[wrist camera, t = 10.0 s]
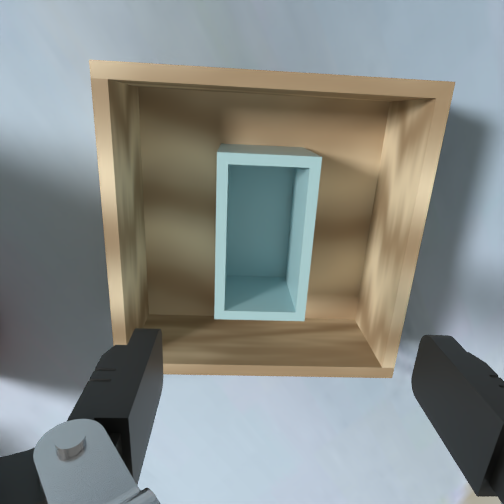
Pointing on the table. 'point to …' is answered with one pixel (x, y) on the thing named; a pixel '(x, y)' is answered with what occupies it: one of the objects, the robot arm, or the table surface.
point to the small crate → (264, 231)
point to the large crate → (204, 209)
